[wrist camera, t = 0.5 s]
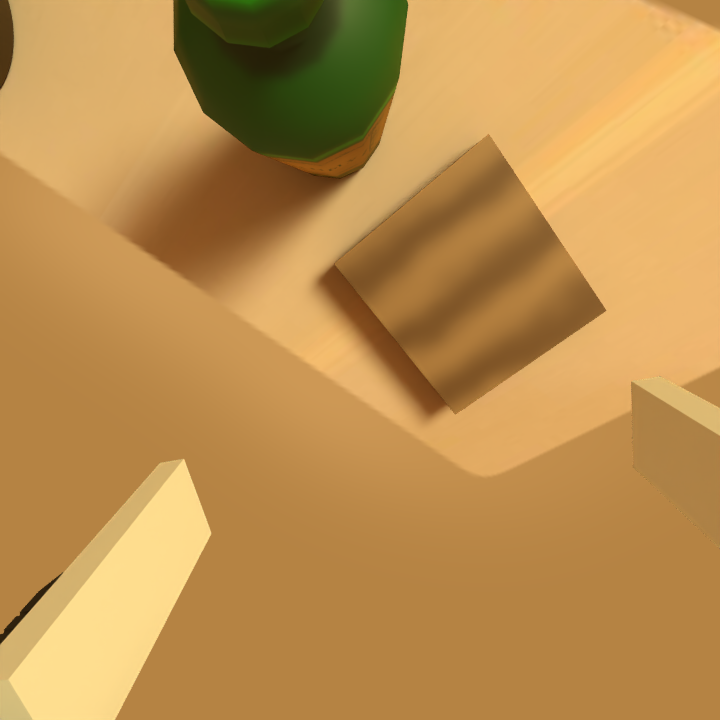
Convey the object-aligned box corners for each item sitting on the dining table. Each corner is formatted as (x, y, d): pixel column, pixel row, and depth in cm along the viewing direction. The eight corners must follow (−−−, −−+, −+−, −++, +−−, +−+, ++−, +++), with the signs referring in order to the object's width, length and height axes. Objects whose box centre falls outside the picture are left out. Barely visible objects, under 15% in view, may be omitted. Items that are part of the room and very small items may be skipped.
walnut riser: (337, 261, 40) (333, 263, 38) (480, 141, 37) (488, 134, 34) (450, 402, 44) (455, 414, 41) (590, 304, 41) (606, 310, 38)
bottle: (255, 164, 38) (-35, 10, 12) (294, 31, 35) (25, -595, 8) (366, 210, 39) (338, 167, 12) (414, 85, 36) (516, -338, 9)
